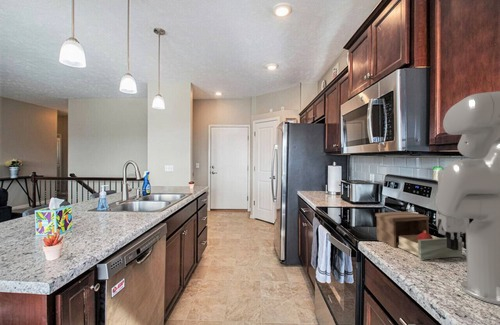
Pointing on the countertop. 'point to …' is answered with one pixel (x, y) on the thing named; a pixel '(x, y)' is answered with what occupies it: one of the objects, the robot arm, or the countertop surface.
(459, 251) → the drawer
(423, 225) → the cabinet
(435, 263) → the countertop surface
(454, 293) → the countertop surface
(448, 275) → the countertop surface
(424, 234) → the onion
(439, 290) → the countertop surface
